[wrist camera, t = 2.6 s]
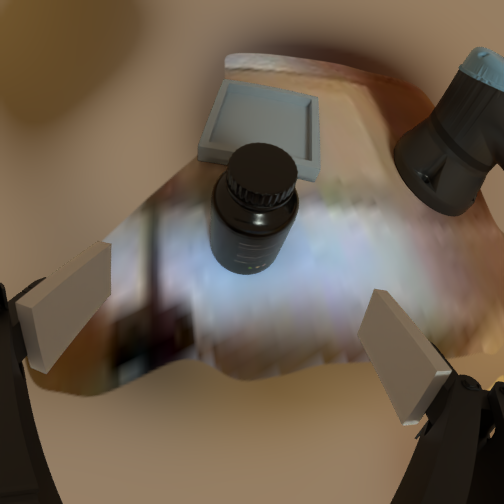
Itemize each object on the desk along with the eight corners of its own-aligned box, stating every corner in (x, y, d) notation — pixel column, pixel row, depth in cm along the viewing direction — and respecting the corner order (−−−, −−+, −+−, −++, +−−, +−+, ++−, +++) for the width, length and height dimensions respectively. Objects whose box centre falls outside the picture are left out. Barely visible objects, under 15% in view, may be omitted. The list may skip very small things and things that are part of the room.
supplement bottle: (202, 223, 31) (203, 136, 20) (265, 211, 33) (291, 127, 22) (219, 285, 29) (227, 216, 18) (287, 268, 30) (329, 198, 20)
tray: (313, 109, 42) (318, 97, 40) (314, 182, 36) (320, 169, 33) (222, 91, 41) (223, 78, 39) (197, 160, 35) (197, 146, 33)
